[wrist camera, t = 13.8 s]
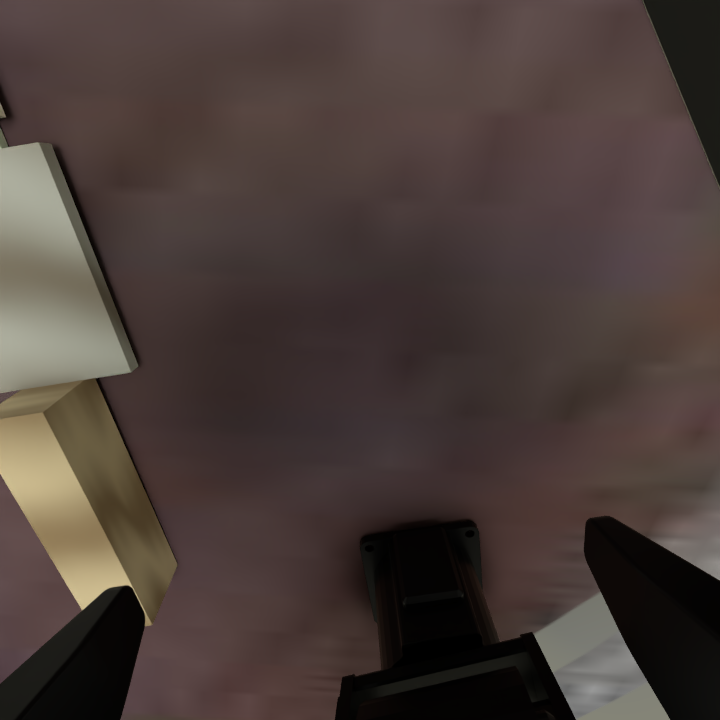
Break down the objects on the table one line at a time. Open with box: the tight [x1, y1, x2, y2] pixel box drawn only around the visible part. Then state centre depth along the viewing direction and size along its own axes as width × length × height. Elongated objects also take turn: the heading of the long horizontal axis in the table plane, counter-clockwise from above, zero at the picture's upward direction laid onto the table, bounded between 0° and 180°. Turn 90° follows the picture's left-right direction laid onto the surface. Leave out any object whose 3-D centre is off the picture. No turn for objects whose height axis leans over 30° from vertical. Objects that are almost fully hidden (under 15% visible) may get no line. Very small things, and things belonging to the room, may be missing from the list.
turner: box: [0, 142, 178, 626], centre depth 18 cm, size 21×7×4 cm, turn 9°
